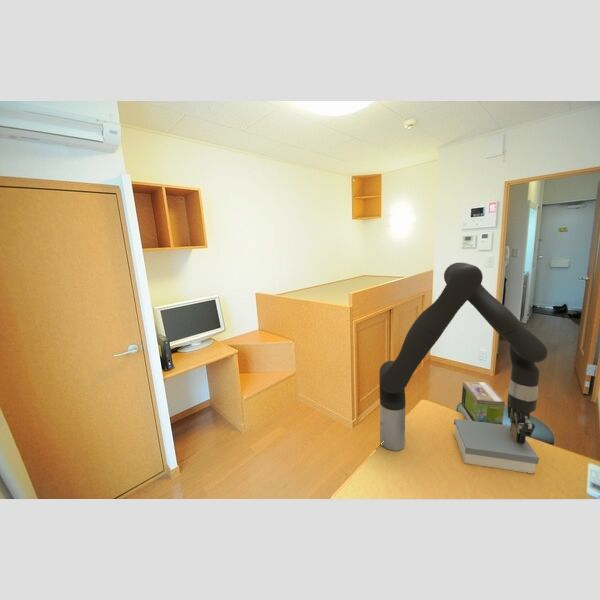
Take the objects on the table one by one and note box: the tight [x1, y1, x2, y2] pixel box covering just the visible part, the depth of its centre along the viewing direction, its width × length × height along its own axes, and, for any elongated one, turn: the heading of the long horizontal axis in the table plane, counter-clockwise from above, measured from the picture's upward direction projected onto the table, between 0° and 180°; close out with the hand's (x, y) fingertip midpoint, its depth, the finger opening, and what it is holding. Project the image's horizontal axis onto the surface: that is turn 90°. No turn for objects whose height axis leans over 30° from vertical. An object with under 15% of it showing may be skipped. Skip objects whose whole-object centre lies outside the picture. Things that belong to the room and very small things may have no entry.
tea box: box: [460, 380, 506, 424], centre depth 111 cm, size 15×10×15 cm, turn 168°
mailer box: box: [454, 423, 536, 474], centre depth 96 cm, size 20×14×6 cm
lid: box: [453, 418, 540, 465], centre depth 95 cm, size 21×15×7 cm
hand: (517, 437), depth 93 cm, fingers closed on lid, 4 cm apart
